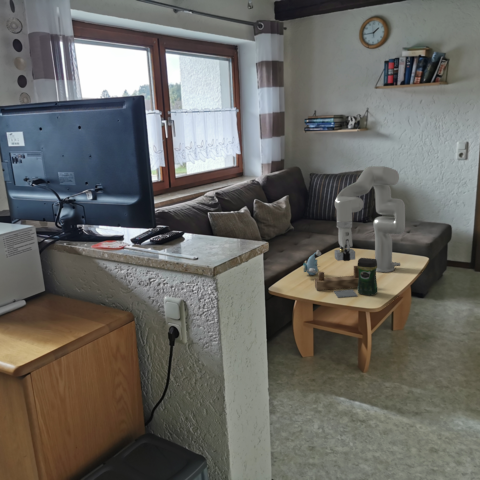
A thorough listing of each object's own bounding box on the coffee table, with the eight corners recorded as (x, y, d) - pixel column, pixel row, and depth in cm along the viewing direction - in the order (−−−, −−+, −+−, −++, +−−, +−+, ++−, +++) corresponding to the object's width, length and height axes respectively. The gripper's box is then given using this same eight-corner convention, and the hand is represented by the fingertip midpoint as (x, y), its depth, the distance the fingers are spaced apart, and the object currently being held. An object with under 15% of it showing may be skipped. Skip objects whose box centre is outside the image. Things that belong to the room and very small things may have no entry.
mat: (352, 290, 256) (352, 289, 255) (357, 296, 247) (357, 295, 247) (333, 291, 255) (333, 290, 255) (337, 297, 247) (337, 296, 246)
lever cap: (352, 256, 250) (351, 246, 249) (355, 259, 244) (355, 249, 243) (334, 257, 250) (334, 248, 248) (337, 260, 244) (337, 251, 243)
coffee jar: (379, 292, 251) (379, 257, 247) (374, 296, 245) (374, 261, 240) (360, 289, 256) (360, 255, 252) (355, 294, 250) (355, 259, 246)
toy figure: (321, 279, 277) (320, 253, 273) (302, 279, 279) (301, 254, 276) (322, 270, 293) (321, 246, 289) (304, 270, 295) (303, 246, 291)
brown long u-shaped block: (362, 283, 265) (362, 264, 263) (365, 287, 259) (365, 267, 257) (315, 287, 264) (314, 267, 262) (317, 290, 258) (316, 271, 256)
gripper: (356, 227, 234) (357, 263, 239) (347, 220, 251) (347, 254, 255) (341, 228, 234) (341, 264, 238) (332, 221, 251) (333, 255, 255)
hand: (344, 258), depth 247 cm, fingers closed on lever cap, 6 cm apart
